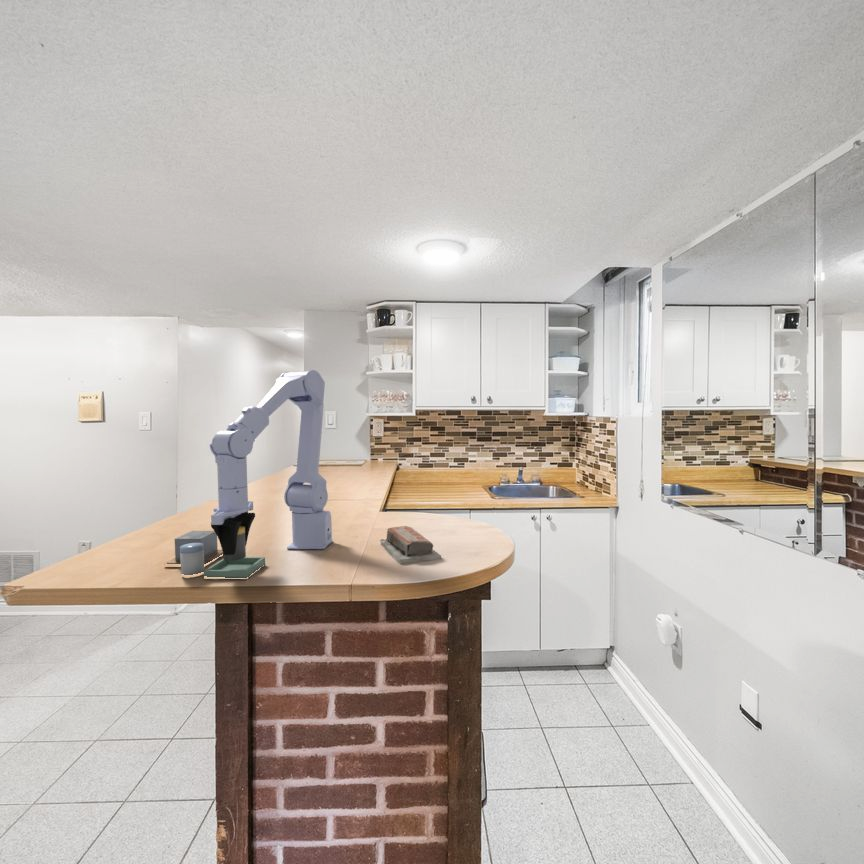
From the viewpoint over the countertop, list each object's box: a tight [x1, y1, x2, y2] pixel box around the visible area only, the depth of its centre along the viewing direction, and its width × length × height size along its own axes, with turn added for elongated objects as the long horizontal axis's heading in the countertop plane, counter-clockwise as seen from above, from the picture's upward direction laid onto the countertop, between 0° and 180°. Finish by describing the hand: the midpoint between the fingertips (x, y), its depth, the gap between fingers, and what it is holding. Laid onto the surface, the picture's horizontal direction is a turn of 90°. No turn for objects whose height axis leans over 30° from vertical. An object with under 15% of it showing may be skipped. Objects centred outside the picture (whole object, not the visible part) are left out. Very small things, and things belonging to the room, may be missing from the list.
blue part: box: [180, 543, 206, 575], centre depth 97 cm, size 4×4×6 cm
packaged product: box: [379, 525, 442, 565], centre depth 112 cm, size 18×5×10 cm
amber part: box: [222, 526, 247, 561], centre depth 98 cm, size 4×4×6 cm
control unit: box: [165, 530, 223, 564], centre depth 107 cm, size 9×10×6 cm
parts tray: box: [203, 556, 266, 578], centre depth 98 cm, size 9×9×2 cm
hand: (235, 550), depth 98 cm, fingers closed on amber part, 4 cm apart
